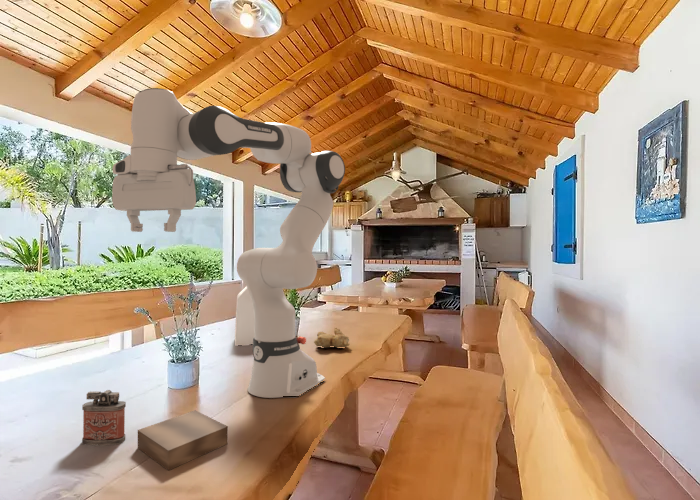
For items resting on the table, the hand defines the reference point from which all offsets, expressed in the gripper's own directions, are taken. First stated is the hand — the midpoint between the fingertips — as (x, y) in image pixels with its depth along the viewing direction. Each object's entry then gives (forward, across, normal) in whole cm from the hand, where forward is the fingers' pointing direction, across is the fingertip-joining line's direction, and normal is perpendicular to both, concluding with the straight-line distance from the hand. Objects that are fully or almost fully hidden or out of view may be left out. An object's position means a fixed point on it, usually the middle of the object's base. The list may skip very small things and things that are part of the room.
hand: (153, 231), depth 83 cm
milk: (+42, +28, -74) cm, 89 cm away
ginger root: (+42, -7, -79) cm, 89 cm away
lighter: (+43, +5, +6) cm, 43 cm away
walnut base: (+42, -11, +2) cm, 44 cm away
